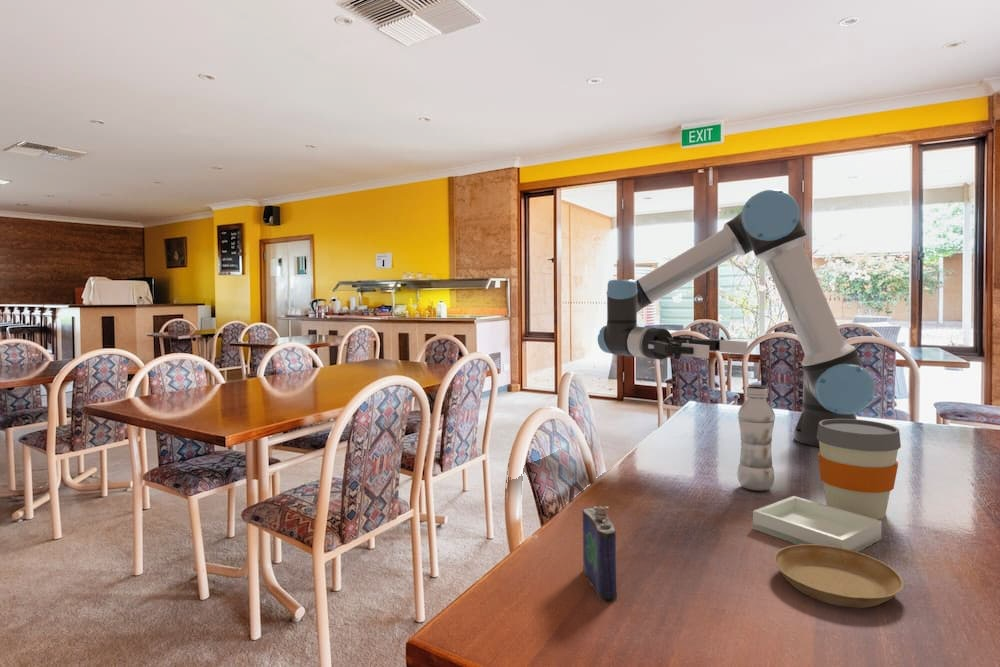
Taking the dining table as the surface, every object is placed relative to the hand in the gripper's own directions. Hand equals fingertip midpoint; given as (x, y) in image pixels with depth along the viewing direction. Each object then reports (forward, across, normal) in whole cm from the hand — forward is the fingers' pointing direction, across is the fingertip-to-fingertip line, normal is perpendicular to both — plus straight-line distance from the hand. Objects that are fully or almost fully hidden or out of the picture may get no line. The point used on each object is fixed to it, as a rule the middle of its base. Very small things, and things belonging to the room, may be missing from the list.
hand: (728, 349), depth 127 cm
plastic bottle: (+11, +7, -26) cm, 29 cm away
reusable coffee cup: (+28, +3, -26) cm, 38 cm away
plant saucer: (+39, +33, -26) cm, 58 cm away
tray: (+29, +19, -26) cm, 44 cm away
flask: (+21, +58, -26) cm, 67 cm away
